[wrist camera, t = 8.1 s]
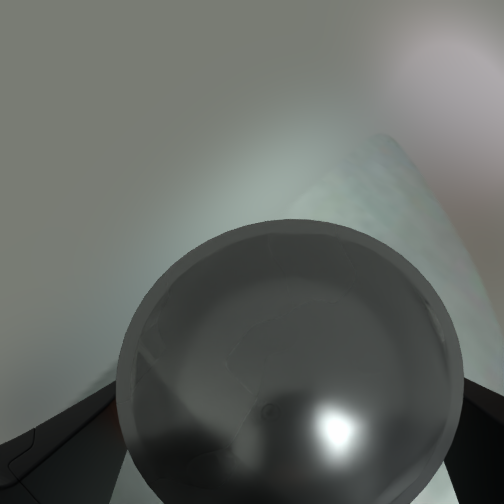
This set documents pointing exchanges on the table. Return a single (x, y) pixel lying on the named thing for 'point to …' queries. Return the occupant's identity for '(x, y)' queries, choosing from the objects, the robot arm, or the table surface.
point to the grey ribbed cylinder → (290, 372)
